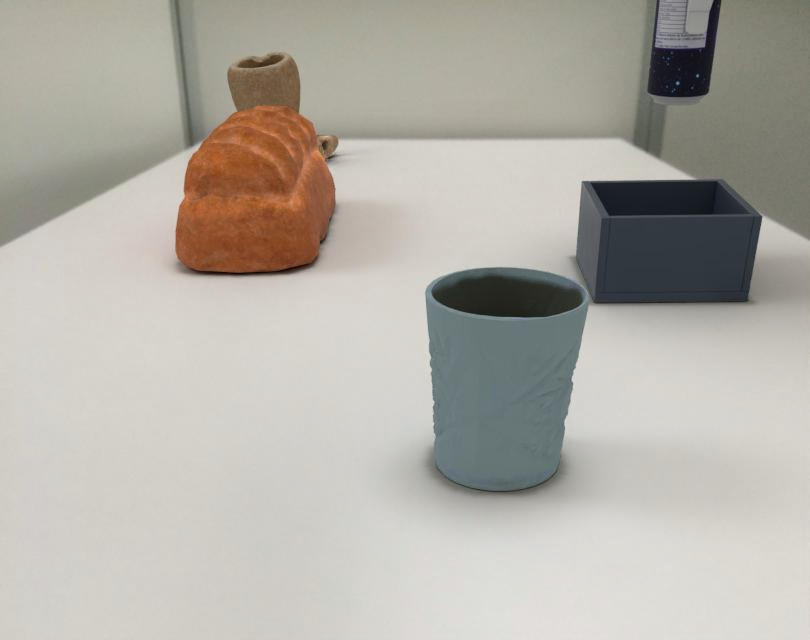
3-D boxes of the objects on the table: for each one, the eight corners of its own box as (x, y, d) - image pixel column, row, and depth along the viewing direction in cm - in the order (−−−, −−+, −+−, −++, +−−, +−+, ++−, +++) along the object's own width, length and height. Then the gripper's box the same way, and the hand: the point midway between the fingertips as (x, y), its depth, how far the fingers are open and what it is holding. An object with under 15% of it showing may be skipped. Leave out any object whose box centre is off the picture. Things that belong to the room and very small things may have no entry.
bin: (711, 256, 105) (723, 178, 100) (747, 301, 92) (763, 216, 88) (575, 257, 105) (581, 180, 101) (594, 302, 93) (601, 218, 88)
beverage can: (719, 103, 91) (741, -46, 84) (668, 108, 89) (686, -44, 82) (684, 95, 95) (701, -48, 89) (634, 100, 93) (648, -46, 87)
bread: (341, 199, 128) (335, 92, 121) (314, 274, 102) (305, 142, 95) (224, 201, 129) (211, 94, 122) (167, 275, 102) (147, 144, 95)
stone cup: (223, 169, 145) (210, 58, 137) (248, 152, 155) (238, 48, 147) (321, 171, 143) (314, 58, 135) (340, 154, 152) (335, 48, 144)
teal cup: (403, 444, 69) (400, 278, 62) (527, 417, 72) (536, 256, 66) (468, 511, 61) (472, 329, 55) (604, 477, 64) (622, 301, 58)
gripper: (783, -166, 72) (751, 41, 80) (717, -151, 89) (696, 18, 97) (698, -164, 73) (674, 42, 80) (648, -149, 90) (632, 19, 97)
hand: (685, 29), depth 89 cm, fingers closed on beverage can, 5 cm apart
